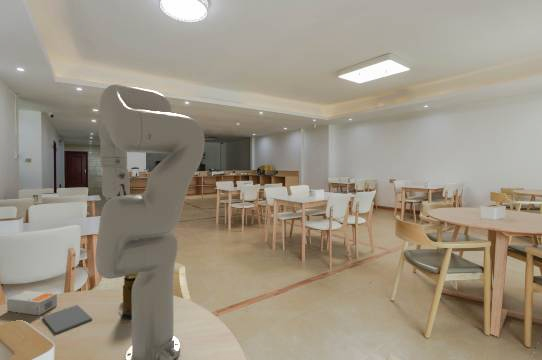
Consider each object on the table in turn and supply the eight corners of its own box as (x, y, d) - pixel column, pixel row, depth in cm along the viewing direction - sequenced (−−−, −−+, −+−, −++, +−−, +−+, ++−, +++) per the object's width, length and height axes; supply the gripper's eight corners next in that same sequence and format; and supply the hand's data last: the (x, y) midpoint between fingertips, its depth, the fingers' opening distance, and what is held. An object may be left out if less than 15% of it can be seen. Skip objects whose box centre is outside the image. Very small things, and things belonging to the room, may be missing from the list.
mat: (92, 320, 84) (92, 318, 84) (55, 334, 77) (55, 332, 77) (77, 306, 92) (77, 304, 92) (42, 318, 85) (42, 316, 85)
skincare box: (39, 302, 86) (5, 299, 87) (40, 315, 86) (6, 312, 88) (57, 293, 92) (25, 290, 93) (57, 305, 92) (26, 302, 94)
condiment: (142, 304, 94) (142, 269, 93) (150, 315, 88) (149, 278, 87) (118, 311, 90) (117, 274, 89) (124, 323, 83) (123, 284, 82)
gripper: (137, 163, 90) (138, 220, 91) (115, 162, 99) (116, 214, 100) (112, 163, 84) (114, 224, 85) (91, 162, 93) (93, 217, 94)
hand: (115, 218), depth 92 cm, fingers closed
